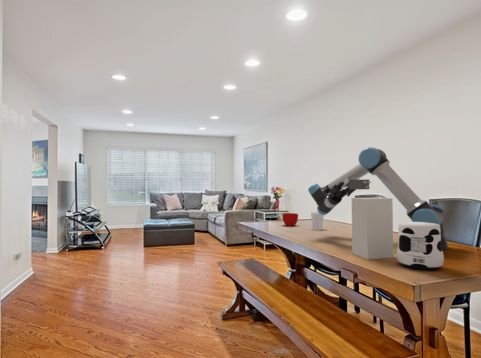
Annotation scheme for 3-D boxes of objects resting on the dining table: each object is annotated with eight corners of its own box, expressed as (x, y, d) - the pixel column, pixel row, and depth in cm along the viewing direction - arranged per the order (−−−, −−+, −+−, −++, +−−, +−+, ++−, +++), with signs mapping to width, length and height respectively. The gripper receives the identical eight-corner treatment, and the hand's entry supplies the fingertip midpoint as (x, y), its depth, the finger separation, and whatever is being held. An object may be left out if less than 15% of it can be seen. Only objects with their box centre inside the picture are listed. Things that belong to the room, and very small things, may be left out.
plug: (337, 189, 173) (336, 180, 173) (345, 188, 175) (345, 180, 175) (364, 189, 155) (363, 179, 156) (372, 189, 158) (372, 179, 158)
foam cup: (310, 230, 233) (310, 213, 234) (312, 228, 242) (312, 212, 242) (323, 231, 230) (323, 213, 230) (324, 229, 238) (324, 212, 239)
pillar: (352, 253, 156) (351, 197, 156) (376, 252, 159) (375, 197, 159) (367, 259, 144) (366, 199, 144) (393, 257, 147) (392, 198, 148)
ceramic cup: (302, 225, 264) (302, 213, 264) (294, 227, 250) (294, 215, 250) (288, 224, 271) (288, 212, 271) (279, 226, 257) (279, 214, 257)
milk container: (423, 260, 141) (423, 220, 141) (454, 271, 124) (453, 226, 124) (388, 262, 139) (387, 221, 139) (414, 273, 122) (413, 227, 122)
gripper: (349, 204, 186) (371, 185, 167) (320, 205, 181) (339, 186, 162) (345, 193, 190) (366, 173, 170) (317, 194, 185) (335, 173, 166)
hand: (353, 179), depth 166 cm, fingers closed on plug, 6 cm apart
